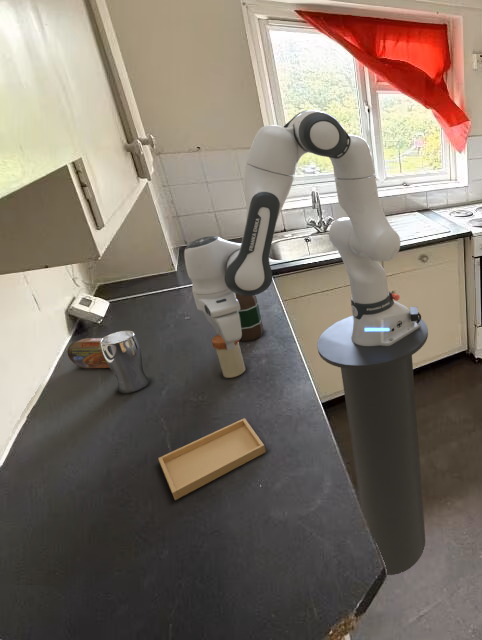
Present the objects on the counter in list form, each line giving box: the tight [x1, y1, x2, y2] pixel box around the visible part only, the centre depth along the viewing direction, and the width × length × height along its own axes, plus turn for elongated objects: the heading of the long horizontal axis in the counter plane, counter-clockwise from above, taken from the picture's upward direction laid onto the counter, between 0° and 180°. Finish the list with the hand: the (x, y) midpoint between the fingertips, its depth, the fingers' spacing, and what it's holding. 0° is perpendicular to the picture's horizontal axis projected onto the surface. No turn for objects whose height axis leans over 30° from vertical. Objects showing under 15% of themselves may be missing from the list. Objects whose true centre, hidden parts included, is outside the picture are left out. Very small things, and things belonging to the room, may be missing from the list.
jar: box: [214, 341, 246, 379], centre depth 117 cm, size 5×5×11 cm
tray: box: [157, 417, 267, 501], centre depth 90 cm, size 16×12×2 cm
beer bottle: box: [235, 293, 264, 342], centre depth 133 cm, size 8×8×24 cm
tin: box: [67, 337, 110, 369], centre depth 119 cm, size 15×3×8 cm, turn 92°
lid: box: [211, 334, 240, 350], centre depth 115 cm, size 6×6×2 cm
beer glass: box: [100, 330, 150, 394], centre depth 109 cm, size 7×7×15 cm
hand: (226, 343), depth 115 cm, fingers closed on lid, 6 cm apart
